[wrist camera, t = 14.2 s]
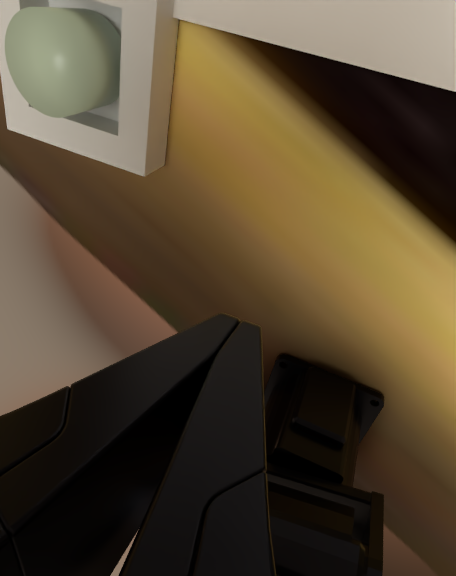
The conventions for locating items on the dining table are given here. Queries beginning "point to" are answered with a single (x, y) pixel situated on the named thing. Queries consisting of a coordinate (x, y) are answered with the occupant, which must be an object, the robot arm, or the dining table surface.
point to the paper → (346, 31)
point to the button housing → (133, 88)
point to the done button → (63, 59)
